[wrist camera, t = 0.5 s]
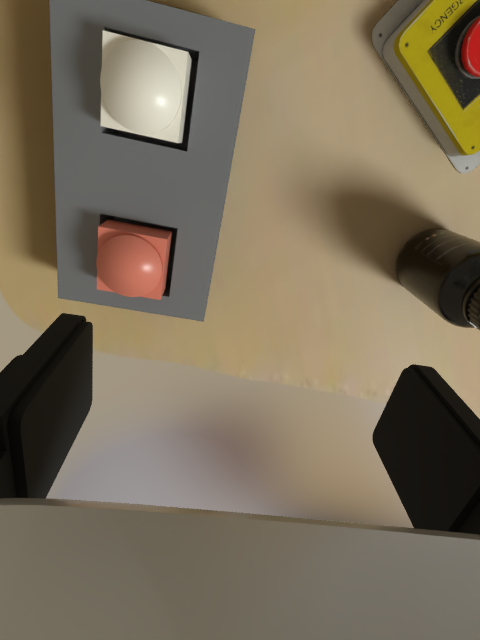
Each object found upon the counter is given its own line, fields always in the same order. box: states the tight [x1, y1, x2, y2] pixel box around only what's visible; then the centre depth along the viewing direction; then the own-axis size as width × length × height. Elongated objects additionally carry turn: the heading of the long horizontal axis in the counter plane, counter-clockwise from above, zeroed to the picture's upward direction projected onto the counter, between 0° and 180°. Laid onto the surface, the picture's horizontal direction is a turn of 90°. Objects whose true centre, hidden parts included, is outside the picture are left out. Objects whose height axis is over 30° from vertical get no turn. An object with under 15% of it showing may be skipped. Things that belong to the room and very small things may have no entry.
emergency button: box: [371, 0, 480, 173], centre depth 27 cm, size 9×4×15 cm
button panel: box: [49, 0, 255, 322], centre depth 30 cm, size 22×13×5 cm, turn 168°
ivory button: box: [100, 30, 192, 143], centre depth 24 cm, size 5×5×3 cm
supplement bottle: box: [396, 229, 480, 330], centre depth 31 cm, size 7×7×12 cm
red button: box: [96, 219, 172, 300], centre depth 29 cm, size 5×5×3 cm
